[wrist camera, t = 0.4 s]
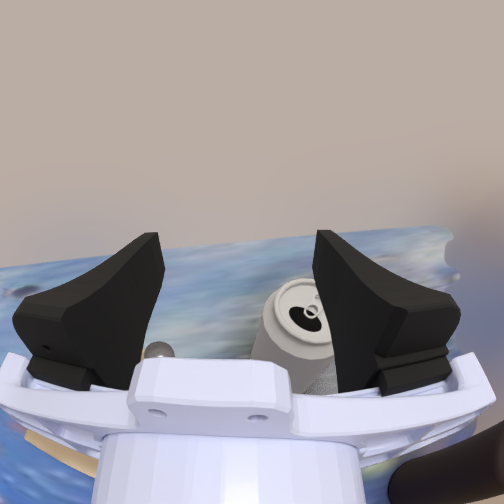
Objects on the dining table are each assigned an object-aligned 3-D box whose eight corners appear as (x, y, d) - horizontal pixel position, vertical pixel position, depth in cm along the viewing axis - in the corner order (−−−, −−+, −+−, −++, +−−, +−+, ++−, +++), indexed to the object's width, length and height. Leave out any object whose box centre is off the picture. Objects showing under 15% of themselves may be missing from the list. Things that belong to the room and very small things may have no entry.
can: (233, 371, 28) (245, 306, 20) (275, 330, 33) (300, 258, 25) (288, 413, 25) (330, 368, 17) (325, 365, 29) (371, 303, 21)
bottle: (403, 451, 21) (551, 368, 8) (439, 468, 18) (580, 396, 5) (376, 501, 17) (546, 459, 3) (417, 516, 14) (574, 472, 1)
